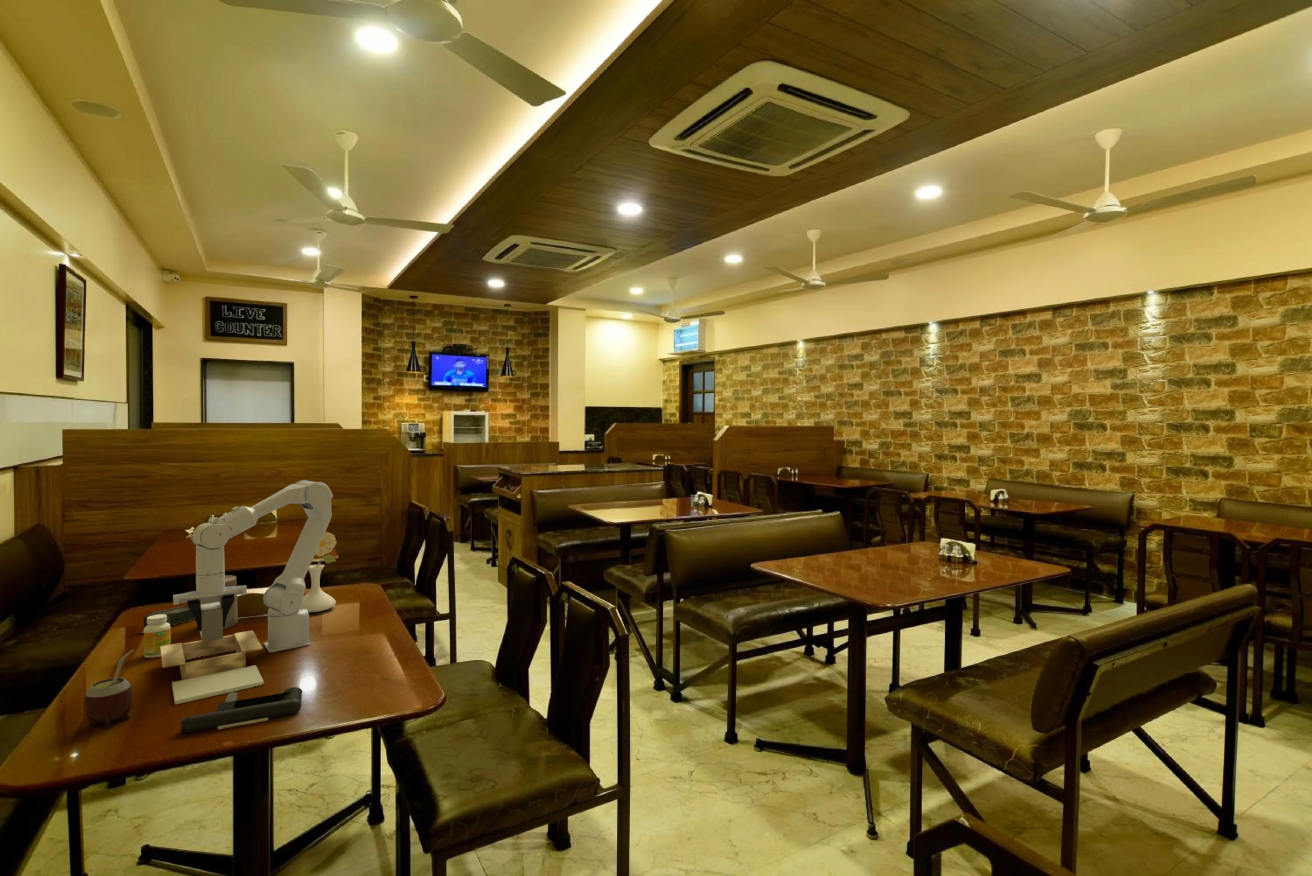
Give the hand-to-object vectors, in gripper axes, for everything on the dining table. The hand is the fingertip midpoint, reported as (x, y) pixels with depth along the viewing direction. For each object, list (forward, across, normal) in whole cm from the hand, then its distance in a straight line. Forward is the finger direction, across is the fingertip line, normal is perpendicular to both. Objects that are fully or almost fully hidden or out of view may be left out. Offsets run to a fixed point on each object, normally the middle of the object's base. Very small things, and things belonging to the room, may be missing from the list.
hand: (211, 628), depth 154 cm
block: (+2, 0, 0) cm, 2 cm away
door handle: (+10, -3, +33) cm, 35 cm away
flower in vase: (+9, -30, -33) cm, 46 cm away
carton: (+9, 0, 0) cm, 9 cm away
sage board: (+9, 0, +15) cm, 17 cm away
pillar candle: (+9, -4, -34) cm, 35 cm away
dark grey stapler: (+10, +7, -43) cm, 44 cm away
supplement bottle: (+9, +10, -17) cm, 22 cm away
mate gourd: (+9, +18, +23) cm, 31 cm away
